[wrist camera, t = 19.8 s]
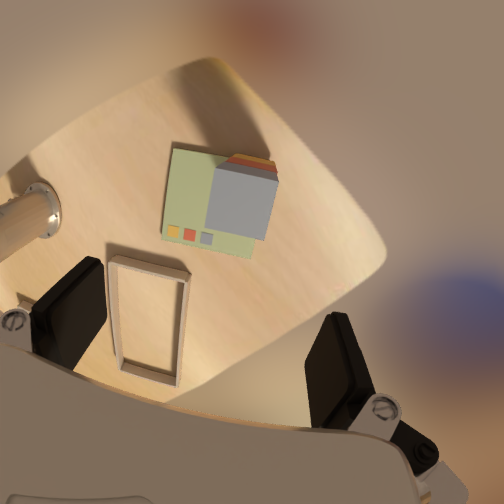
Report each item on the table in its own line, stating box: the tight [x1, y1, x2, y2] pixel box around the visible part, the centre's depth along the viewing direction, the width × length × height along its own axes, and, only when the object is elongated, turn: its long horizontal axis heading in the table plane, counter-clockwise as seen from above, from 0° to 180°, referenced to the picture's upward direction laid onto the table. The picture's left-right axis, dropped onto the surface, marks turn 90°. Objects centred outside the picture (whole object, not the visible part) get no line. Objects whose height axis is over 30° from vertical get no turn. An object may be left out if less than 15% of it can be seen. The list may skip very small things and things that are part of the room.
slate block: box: [204, 161, 279, 241], centre depth 29 cm, size 6×6×6 cm
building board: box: [161, 148, 255, 259], centre depth 46 cm, size 16×16×1 cm
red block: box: [225, 157, 278, 174], centre depth 35 cm, size 6×6×6 cm
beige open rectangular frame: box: [108, 255, 192, 388], centre depth 56 cm, size 16×32×3 cm, turn 168°
